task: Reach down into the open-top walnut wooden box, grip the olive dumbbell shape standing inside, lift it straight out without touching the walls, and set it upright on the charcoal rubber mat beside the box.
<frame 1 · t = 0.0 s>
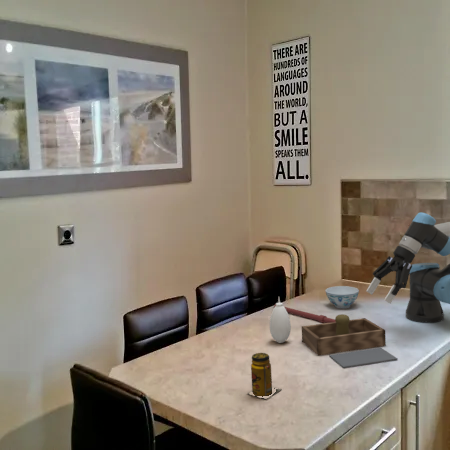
hand: (377, 297, 205), 15 cm above the breakfast bar, tool tilted 35°, fingers open, 13 cm apart
charcoal mat: (362, 358, 186), on the breakfast bar
condiment: (264, 393, 164), on the breakfast bar
red rod with collar: (312, 320, 232), on the breakfast bar
white bulb air blower: (280, 342, 206), on the breakfast bar
olive dumbbell shape: (342, 344, 201), resting in wooden box
wooden box: (342, 343, 201), on the breakfast bar
chinaware: (342, 306, 248), on the breakfast bar
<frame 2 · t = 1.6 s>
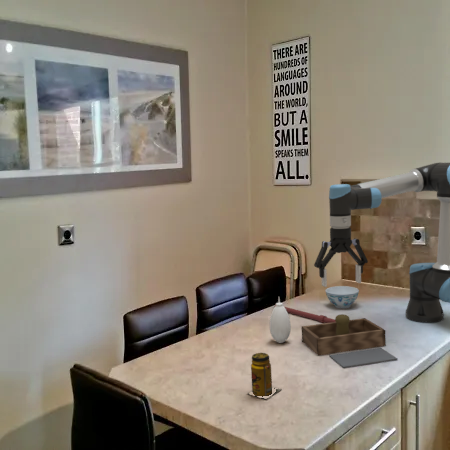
hand: (341, 284, 198), 23 cm above the breakfast bar, tool pointing down, fingers open, 13 cm apart
nothing on the breakfast bar moved.
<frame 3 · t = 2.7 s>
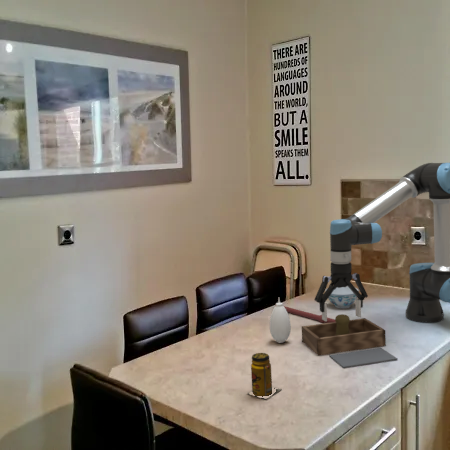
hand: (341, 318, 200), 10 cm above the breakfast bar, tool pointing down, fingers open, 13 cm apart
nothing on the breakfast bar moved.
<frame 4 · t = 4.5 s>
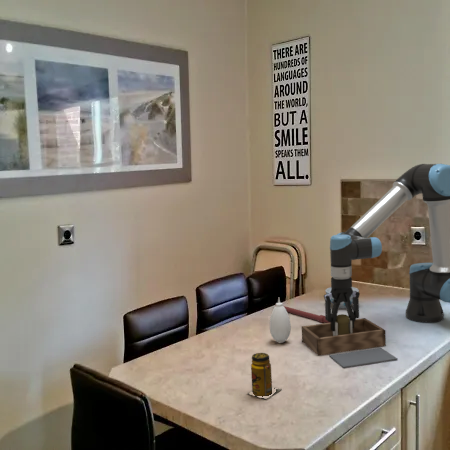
hand: (342, 337, 201), 2 cm above the breakfast bar, tool pointing down, fingers closed on olive dumbbell shape, 5 cm apart
olive dumbbell shape: (342, 344, 201), resting in wooden box, touching gripper
everything else where it was.
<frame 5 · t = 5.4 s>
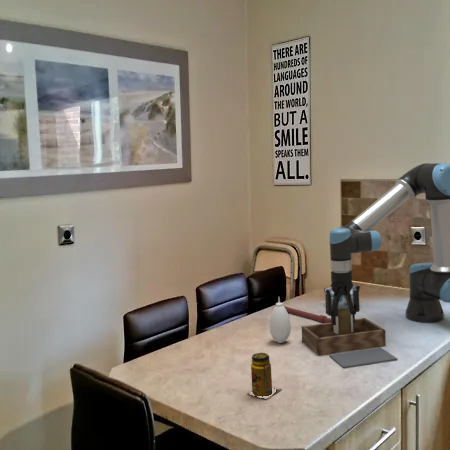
hand: (343, 331, 200), 5 cm above the breakfast bar, tool pointing down, fingers closed on olive dumbbell shape, 5 cm apart
olive dumbbell shape: (343, 338, 201), point 2 cm above the breakfast bar, touching gripper
everything else where it was.
when the fingers open (4 cm above the breakfast bar, at t = 11.0 s): olive dumbbell shape stays where it is, resting on charcoal mat.
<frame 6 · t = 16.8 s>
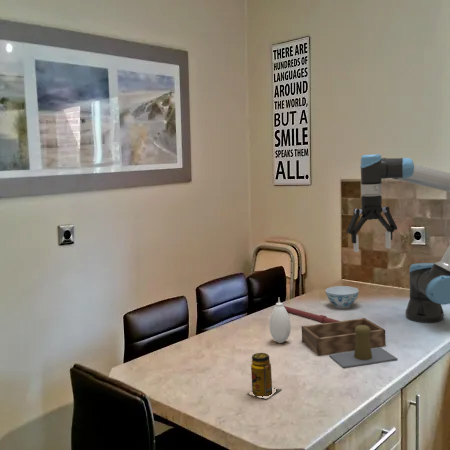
hand: (372, 249, 208), 33 cm above the breakfast bar, tool pointing down, fingers open, 13 cm apart
olive dumbbell shape: (363, 357, 186), resting on charcoal mat
everything else where it was.
at the end: olive dumbbell shape inside the target area on the charcoal mat (0.1 cm from its centre), point 0.4 cm above the charcoal mat's base; olive dumbbell shape tilted 0°; the gripper is holding nothing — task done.
